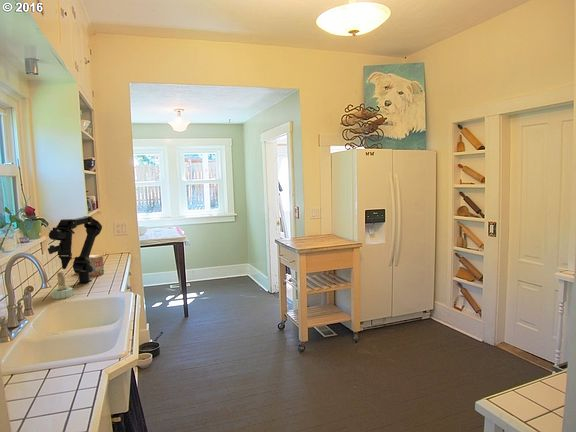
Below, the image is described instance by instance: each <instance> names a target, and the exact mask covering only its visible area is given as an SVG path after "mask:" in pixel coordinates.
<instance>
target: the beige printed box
mask: <svg viewBox="0 0 576 432" xmlns="http://www.w3.org/2000/svg"><path fill="white" fill-rule="evenodd" d="M89 260H90V265H91V266H92V267H93V271H92V272H89V276H93V275H94V277H95V276H96V275H97V276H100V274H101V275H104V274H105V269H104V255H98V254H90V255H89ZM97 276H96V277H97Z"/></svg>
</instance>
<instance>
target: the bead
mask: <svg viewBox="0 0 576 432" xmlns="http://www.w3.org/2000/svg"><path fill="white" fill-rule="evenodd" d="M65 287H66V290H63V291H59V289H58V288H55V289H52V290H51V298H52V299H55V300H58V299H59V300H60V299H61V300H62V299H67V298H69V297H72V296H73V295H74V290H73V289H74V288H73V287H71V286H70V287H69V286H65Z"/></svg>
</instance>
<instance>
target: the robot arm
mask: <svg viewBox="0 0 576 432" xmlns="http://www.w3.org/2000/svg"><path fill="white" fill-rule="evenodd" d="M81 225H83V227H84V228H85V232H86V237H85V240H84V243H83V246H82V248H81V251H80V255H78V256H75V257H74V260H73V262H72V268H73V272H74V274H78V282H76V284H89V283H90V282H92V281H93V279H90V275H89V272H92V271H93V267H92V266H91V265H90V260H89V255H91V252H92V249H93V246H94V243H95V240H96V237H98V235H100V233H101V231H103V230H102V229H103V225H102V224H101V222H99V221H98V220H96V219H94V218H93V217H92V216H90V215H87V216H86V215H85V216H81V217H78V218H68V219H67V218H66V219H65V218H64V219H60V221H59V222H58V224H57V225H56V227H55V226H54V227H52V229H51V230H50V231H49V233H48V237H49V239H50V240H52V241H59V243H58V245H53V244H52V245H49V247H48V248H47V252H48V254H49V255H52V254H54V253H57V257H58V259H60V262H61V267H62V270H66V269H67V267H68V265H69V264H70V261H71V259H72V257H73V253H72V246H73V235H75V231H74V229H75V228H77V227H78V226H81Z"/></svg>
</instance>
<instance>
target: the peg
mask: <svg viewBox="0 0 576 432" xmlns="http://www.w3.org/2000/svg"><path fill="white" fill-rule="evenodd" d="M56 275H57V287H58V288H57V289H59V291H63V290H66V287H67V286H66V278H65V277H66V276H65V275H66V274H65V272H64V271H61V272H57V273H56Z"/></svg>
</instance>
